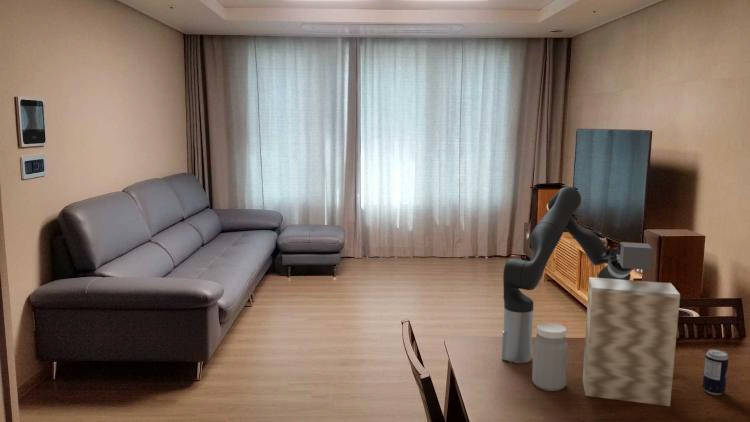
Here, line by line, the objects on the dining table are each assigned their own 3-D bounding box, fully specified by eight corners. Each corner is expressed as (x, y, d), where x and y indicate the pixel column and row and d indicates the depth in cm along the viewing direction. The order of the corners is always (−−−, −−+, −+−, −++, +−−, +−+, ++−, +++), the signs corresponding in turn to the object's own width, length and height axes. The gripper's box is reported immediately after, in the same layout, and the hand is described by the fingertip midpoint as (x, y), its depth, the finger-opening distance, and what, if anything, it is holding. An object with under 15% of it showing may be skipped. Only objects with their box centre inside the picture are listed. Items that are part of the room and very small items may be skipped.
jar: (524, 381, 172) (527, 324, 170) (550, 375, 176) (553, 319, 173) (546, 395, 164) (549, 335, 161) (573, 388, 167) (576, 330, 164)
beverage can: (727, 397, 163) (732, 357, 161) (706, 395, 164) (710, 355, 162) (720, 388, 168) (724, 349, 166) (699, 386, 169) (703, 347, 167)
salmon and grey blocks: (650, 270, 154) (652, 248, 153) (622, 268, 156) (624, 246, 155) (638, 253, 173) (639, 233, 172) (613, 251, 175) (615, 232, 174)
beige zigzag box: (585, 395, 163) (592, 287, 158) (582, 378, 174) (589, 277, 169) (669, 406, 157) (680, 294, 152) (661, 388, 168) (671, 283, 163)
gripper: (597, 251, 186) (604, 234, 171) (644, 253, 183) (655, 237, 167) (597, 273, 184) (604, 258, 168) (645, 276, 180) (656, 261, 165)
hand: (629, 247), depth 168 cm, fingers closed on salmon and grey blocks, 3 cm apart
